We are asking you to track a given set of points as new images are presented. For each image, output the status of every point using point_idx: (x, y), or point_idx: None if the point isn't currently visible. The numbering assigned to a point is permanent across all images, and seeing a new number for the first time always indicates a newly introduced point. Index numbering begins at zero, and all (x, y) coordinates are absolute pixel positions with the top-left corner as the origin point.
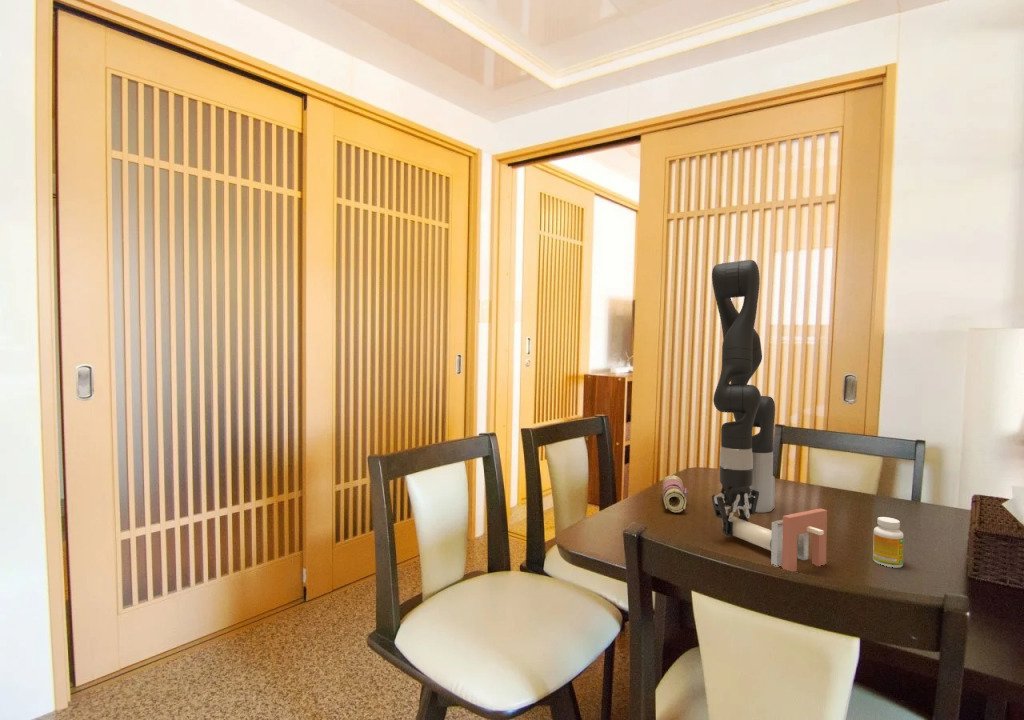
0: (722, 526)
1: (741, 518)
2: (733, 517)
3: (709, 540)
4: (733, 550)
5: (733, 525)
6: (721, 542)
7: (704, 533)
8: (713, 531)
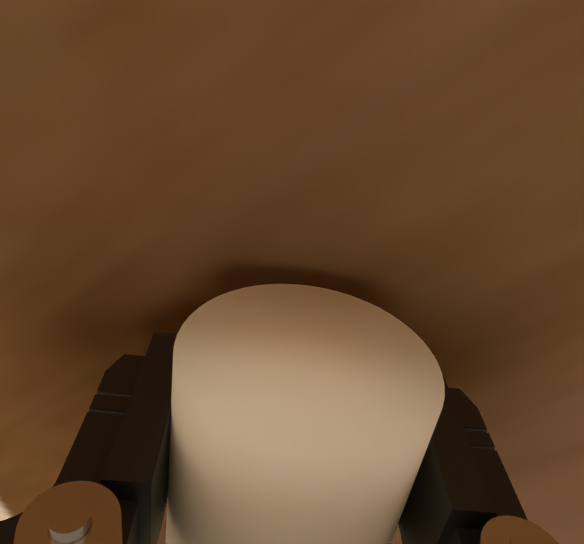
0: (180, 330)
1: (427, 537)
2: (286, 538)
3: (3, 220)
4: (50, 457)
5: (173, 523)
6: (91, 316)
7: (120, 18)
8: (304, 40)
